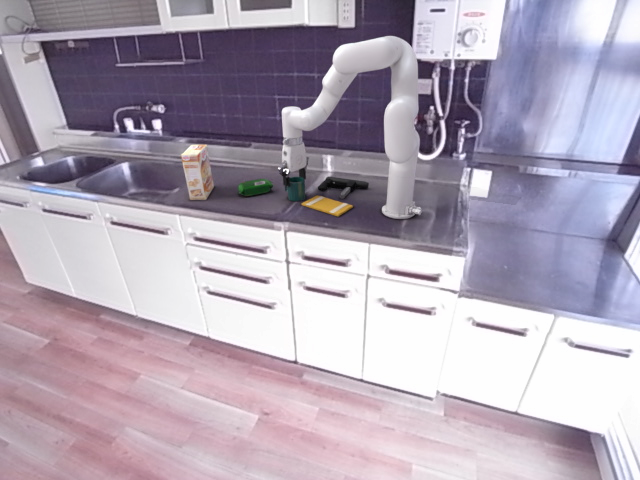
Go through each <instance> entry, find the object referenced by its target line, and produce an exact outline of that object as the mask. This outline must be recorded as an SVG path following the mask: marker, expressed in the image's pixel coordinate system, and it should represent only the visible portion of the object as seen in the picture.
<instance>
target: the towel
mask: <svg viewBox="0 0 640 480" xmlns="http://www.w3.org/2000/svg"><path fill="white" fill-rule="evenodd" d="M301 206H302V207H306V208H309V209H312V210H315V211H319V212H321V213H325V214H328V215H332V216H335V217H340V216H342V215H343V214H345V213H347V212H348V211H350V210H351V209H352V208H353V207H354V205H352V204H350V203H346V202H343V201H338V200H334V199H332V198H328V197H325V196H322V195H315V196H313V197H311V198H309V199H307V200H305V201H303V202H302V203H301Z"/></svg>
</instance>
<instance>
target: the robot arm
mask: <svg viewBox="0 0 640 480" xmlns="http://www.w3.org/2000/svg"><path fill="white" fill-rule="evenodd" d="M417 58H418V57H417V55H416V52H415V50H414V49H413V47H412V46H411V45H410V43H409V42H408V41H406V40H405V39H403V38H401V37H398V36H395V35H386V36H381V37H376V38H371V39H366V40H362V41H357V42H350V43H344V44H341V45H340V46H338V47H337V48H336V49H335V51H334V53H333V55H332V64H331V66H330V67H329V69H328V71H327V72H326V73H325V75H324V77H323V78H322V81H321V84H322V89H321V92H320V93H319V95H318V97H317V98H316V100H315V101H314V102H313V104H312V105H311V106H309V107H307V108H304V109H301V108H300V107H299V106H295V105H294V106H285V107H283V108H282V110H281V125H282V144H283V145H282V151H281V164H280V165H279V166H278V167H277V170H278V172H279V174H280V175H281V177H282V184H283V186H284V187H285V186H288V187H290V174H291V173H294V172H297V171H298V177H303V178H304V179H305V180H306V179H307V172H306V171H307V169H308V168H307V166H308V164H309V161H310V160H309V159H310V157H309V156H307V152H306V146H305V143H304V139H303V131H304V132H311V131H313V130H315V129H317V128H318V127H321V125H323V124H324V123H325V122H326V121H327V119H329V117H330V115H331V114H332V113H333V111H334V110H335V109H336V107H337V106H338V103H339V102H340V100H341V99H342V97H343V95H344V93H345V92H346V90H347V89H348V88H349V86H350V85H351V84H352V83H353V81H354V79H355V78H356V77H357V75H358V74H360V73H366V72H373V71H379V70H384V69H387V68H390V71H391V76H390V88H391V90H390V93H391V95H390V97H391V99H390V102H389V103H388V104H387V106H386V108H385V110H384V115H383V135H384V136H383V137H384V138H383V139H384V151H385V155H386V157H387V159H388V160H389V164H388V177H387V191H386V203H385V204H384V205H383V206H382V207H381V213H382V214H383V215H384V216H386V217H388V218H391V219H396V220H407V219H410V218H412V217H414V216H415V215H418V216H420V215H422V213H423V210H422V207H421V206H417V205H416V201H414V192H415V182H416V174H417V166H418V159H419V152H420V147H421V146H420V145H421V139H420V138H421V137H420V134H419V132H418V131H417V130H416V129H415V119H416V118H417V117H418V114H419V64H418V59H417Z"/></svg>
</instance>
